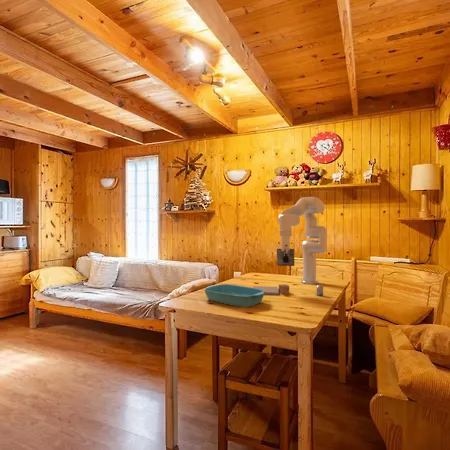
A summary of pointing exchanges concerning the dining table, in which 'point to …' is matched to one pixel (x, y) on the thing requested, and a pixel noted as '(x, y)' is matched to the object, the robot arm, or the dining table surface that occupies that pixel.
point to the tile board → (268, 290)
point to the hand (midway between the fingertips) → (285, 261)
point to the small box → (280, 258)
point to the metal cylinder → (319, 290)
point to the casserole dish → (234, 294)
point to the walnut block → (284, 289)
